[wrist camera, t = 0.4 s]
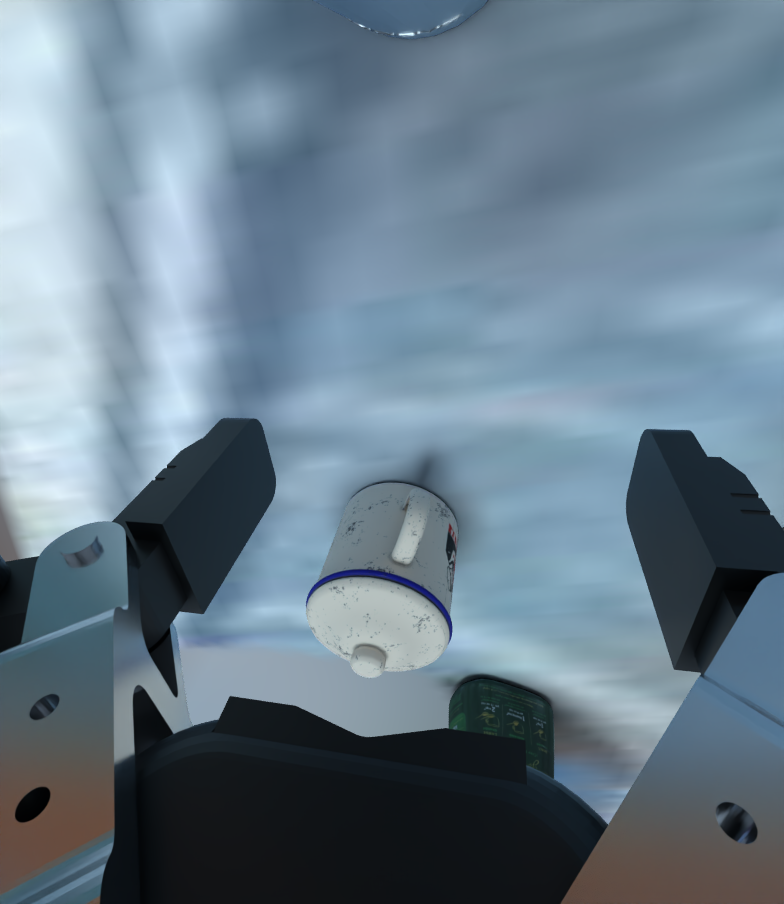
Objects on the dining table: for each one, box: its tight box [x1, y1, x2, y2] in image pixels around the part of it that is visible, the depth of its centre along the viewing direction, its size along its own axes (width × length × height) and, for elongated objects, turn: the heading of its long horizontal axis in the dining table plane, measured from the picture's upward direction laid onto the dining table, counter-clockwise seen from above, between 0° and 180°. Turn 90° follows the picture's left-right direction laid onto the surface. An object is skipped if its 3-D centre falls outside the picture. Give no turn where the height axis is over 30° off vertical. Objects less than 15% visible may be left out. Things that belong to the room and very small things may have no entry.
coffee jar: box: [449, 679, 554, 779], centre depth 41 cm, size 10×8×19 cm
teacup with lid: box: [306, 483, 458, 678], centre depth 31 cm, size 12×9×12 cm
